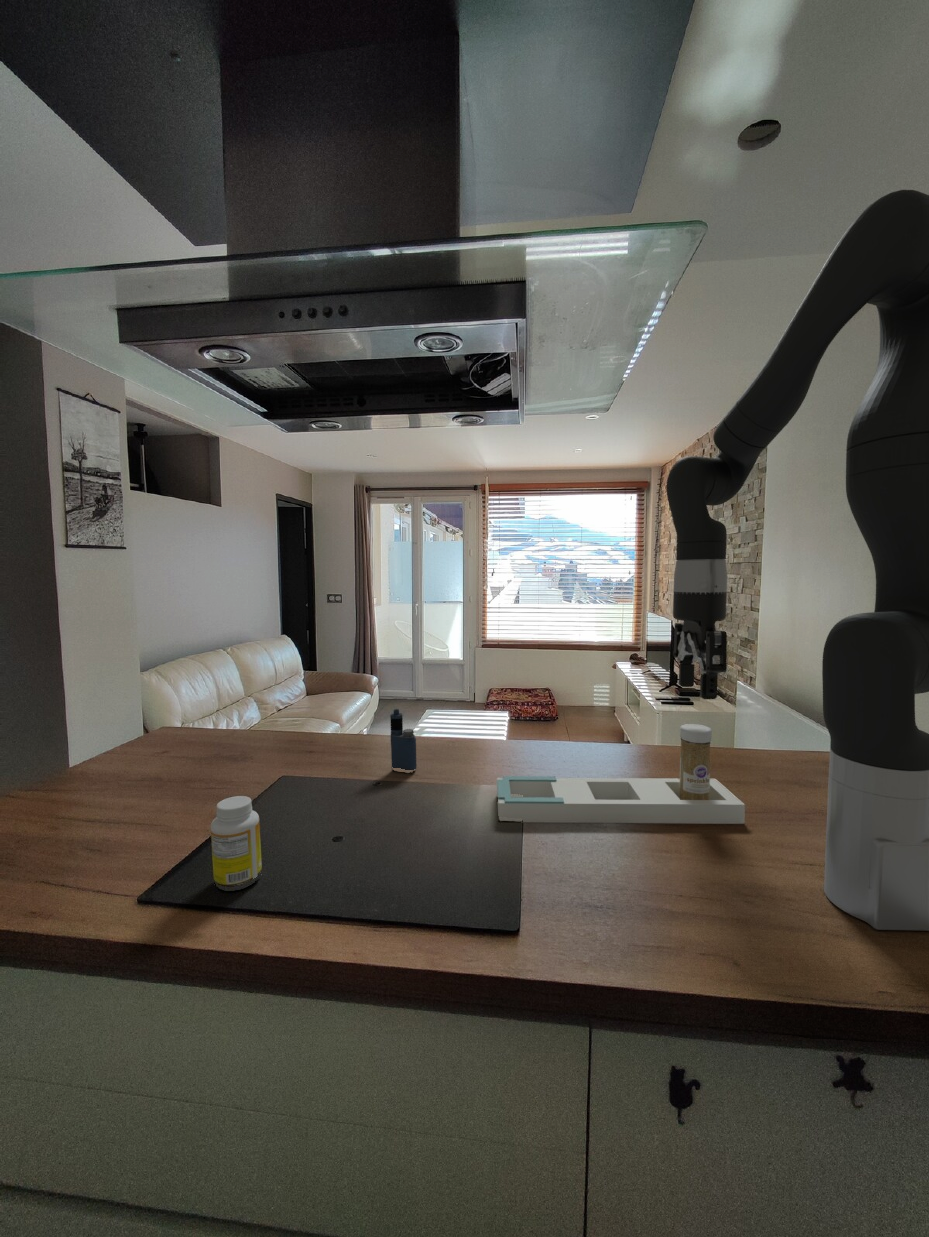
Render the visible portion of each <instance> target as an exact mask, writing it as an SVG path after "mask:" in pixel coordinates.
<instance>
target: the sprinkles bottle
mask: <svg viewBox="0 0 929 1237" xmlns="http://www.w3.org/2000/svg"><path fill="white" fill-rule="evenodd" d="M679 729H680V731H679V737H680V756H679V779H680V784H679V787H680V800H709V788H710V779H711V778H710V777H711V774H710V773H711V770H710V766H711V764H710V763H711V762H710V761H711V760H710V758H711V741H712V740H713V739H712V738H713V737H712V735H713V734H712V731H713V730H712V729H711V728H710V727H708V726H706V725H702V724H697V723H685V724H682V725H681V726H680V727H679Z"/></svg>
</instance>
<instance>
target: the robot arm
mask: <svg viewBox="0 0 929 1237" xmlns="http://www.w3.org/2000/svg"><path fill="white" fill-rule="evenodd" d="M866 304H869V305H872V306H876V309H877V313H878V322H879V354H878V362H877V366H876V371H875V373H874V377H873V378H872V380H871V382H870V385H869V387H868V389H867V390H866V393H865V395H864V396H863V398H862V400H861V402H860V405H859V406H858V408H857V410H856V412H855V414H854V416H853V418H852V421H851V424H850V427H849V430H848V434H847V439H846V449H845V450H846V451H845V452H846V453H845V454H846V455H845V457H846V458H845V493H846V499H847V502H848V505H849V509H850V511H851V514H852V516H853V518H854V520H855V522H856V525H857V527H858V529H859V532H860V533H861V536H862V537H863V539H864V541H865V544H866V545H867V547H868V550H869V553H870V555H871V557H872V561H873V565H874V566H873V568H874V572H875V599H874V600H875V603H874V612H873V611H872V612H862V613H861V612H860V613H855V614H852V615H848V616H846V617H844V618H842V619H840V620H839V621H838V622H836V624H834V625H833V626H832V627H831V629H830V631H829V632H828V635H827V637H826V640H825V642H824V646H823V651H822V662H821V663H822V666H821V668H822V669H821V672H822V673H821V675H822V676H821V677H822V679H821V680H822V681H821V682H822V715H823V720H824V724H825V726H826V728H827V731H828V734H829V738H830V741H829V742H830V746H829V747H830V748H829V765H828V767H829V768H828V783H827V784H828V788H827V806H826V807H827V810H826V833H825V834H826V835H825V851H824V853H825V855H824V879H823V880H824V883H823V884H824V885H823V891H824V894H825V896H826V897H827V900H829V901H830V902H831V903H833V904H834V906H836V907H837V908H839V909H840V910H842V911H843V912H845V913H847V914H848V915H850V916H852V917H854V918H857V919H858V920H862V921H863V922H866V923H867V924H869V926H871V927H872V929H874V930H879V931H928V932H929V733H928V732H926V731H924V730H922V729H919V727H918V726H917V723H916V722H917V721H916V695H919V694H925V693H928V692H929V194H927V193H925V192H921V191H918V190H916V189H900V190H895V191H893V192H890V193H887V194H886V195H883V196H881V197H880V198H878V199H877V200H875V201H874V202H872V203H871V204H870V205H869V206H867V207H866V208H865V209H864V210H862V212H861V213H860V214H859V215H858V216H857V217H856V218H855V219H854V220H853V222H852V223H851V224H850V226H848V228H847V230H846V231H845V232H844V234H843V235H842V236H841V238H840V240H839V241H838V242H837V244H836V245H835V247H834V248H833V250H832V252H831V253H830V255H829V256H828V258H827V260H826V261H825V263H824V264H823V267H822V268H821V270H820V272H819V274H818V275H817V277H816V278H815V280H814V281H813V283H812V285H811V287H810V288H809V290H808V291H807V294H806V296H804V298H803V300H802V302H801V303H800V305H799V307H798V308H797V309H796V312H795V314H794V315H793V317H792V319H791V320H790V322H789V324H788V325H787V327H786V329H785V331H784V332H783V334H782V336H781V337H780V339H779V341H778V342H777V344H776V346H775V347H774V349H773V350H772V352H771V354H770V355H769V357H768V359H767V360H766V361H765V363H764V364H763V366H762V367H761V369H760V371H759V372H758V373H757V374H756V376H755V377H754V378H753V380H752V381H751V382H750V384H749V386H748V387H747V388H746V389H745V390H744V392H743V393H742V394H741V395H740V396H739V398H738V399H737V400H736V401H735V403H734V404H733V406H731V408H730V409H729V410H728V412H727V413H726V415H725V416H724V417H723V418H722V420H721V421H720V422H719V424H718V425H717V427H716V428H715V430H714V433H713V442H714V445H715V446H716V448H717V449H718V450H719V451H720V452H719V453H718V454H717V456H715V457H704V456H698V455H697V456H695V455H694V456H693V455H688V456H684V457H681V458H680V459H678V460H677V461H676V462H675V463H674V464H673V465H672V467H671V469H670V471H669V472H668V476H667V479H666V489H665V490H666V496H667V497H666V498H667V501H668V506H669V510H670V514H671V517H672V521H673V526H674V528H675V529H674V530H675V532H676V546H675V547H676V548H675V550H676V553H675V554H676V555H675V560H676V561H675V567H674V573H673V597H672V598H673V603H672V604H673V605H672V607H673V608H672V617H673V619H675V620H677V621H683V622H675V623H674V634H673V636H674V638H673V652H672V655H673V658H674V659H676V661H677V663H678V664H679V665H678V667H679V668H678V685H679V686H680V687H683V688H687V687H688V688H692V687H694V685H695V664H694V663H695V662H697V664H698V666H699V670H700V679H699V680H700V685H699V686H700V687H699V688H700V689H699V690H700V691H699V696H700V698H701V699H703V700H716V699H717V697H718V675H720V674H721V673H726V672H727V661H728V660H727V658H728V657H727V656H728V655H727V652H728V651H727V647H728V646H727V645H728V644H727V643H728V642H727V641H728V640H727V638H728V637H727V631H726V630H717V629H716V623H717V622H722V621H724V620H725V619H726V617H727V598H728V597H727V595H728V594H727V593H728V592H727V591H728V569H727V561H726V559H727V541H728V539H727V537H728V536H727V527H726V525H725V524H724V523H723V522H721V521H719V520H716V519H714V518H712V516H710V513H709V509H708V506H713V507H715V506H720V505H723V504H725V503H727V502H728V501H730V500H731V499H732V498H734V497H736V495H737V494H738V493H739V491H740V490H741V489H742V488H743V486H744V485H745V483H746V481H747V479H748V477H749V476H750V474H751V471H752V470H753V468H754V466H755V465H756V463H757V461H758V458H759V456H760V454H761V453H762V452H764V450H765V449H766V448H767V447H768V446H769V444H770V443H772V441H773V440H774V439H775V438H776V437H777V436H778V435H779V434H780V433H781V431H783V429H784V428H785V427H786V426H787V425H788V424H789V423H790V422H791V420H792V419H793V418H794V416H795V415H796V414H797V413H798V410H799V409H800V408H801V406H802V404H803V403H804V400H805V399H806V397H807V394H808V391H809V389H810V387H811V384H812V381H813V379H814V377H815V374H816V371H817V369H818V367H819V364H820V362H821V361H822V358H823V357H824V354H825V352H827V349H828V347H829V346H830V344H831V343H832V342H833V340H834V339H835V338H836V336H837V335H838V334H839V333H840V332H841V330H842V329H843V328H844V327H845V326H846V324H848V323H849V322H850V321H851V319H852V318H853V317H854V316H856V314H857V313H859V311H861V309H863V307H865V306H866ZM770 445H771V444H770Z"/></svg>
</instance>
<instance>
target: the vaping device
mask: <svg viewBox="0 0 929 1237" xmlns="http://www.w3.org/2000/svg"><path fill="white" fill-rule="evenodd" d="M389 717H390V748H391V750H390V752H391V753H390V754H391V755H390V756H391V758H390V759H391V768H392V767H393V768H401V769H405V770H414V769H416V770H417V768H418V767H417V738H416V735H415V733H414V729H413V728H412V729H411V728H407V729H406V728H405V729H403V728H404V727H403V726H404V724H403V713H400V710H399V708H395V709H393V713H390V716H389Z"/></svg>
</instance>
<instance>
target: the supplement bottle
mask: <svg viewBox="0 0 929 1237" xmlns="http://www.w3.org/2000/svg"><path fill="white" fill-rule="evenodd" d="M260 825H261V824H260V816H259V814H258V813H257V811H256V810H253V805H252V799H251V797H249V796H245V795H236V796H231V797H230V796H229V797H227V798H224V799H223V800H220V801H219V802H218V803H217V804H216V817H215V818H213V820H212V821H211V823H210V838H211V839H210V840H211V857H212V869H213V870H212V872H213V875H212V876H213V882H214V881H215V882H216V883H217V884H218V885H221V886H224V887H225V886H226V887H234V886H239V885H242V884H244V883H247V882H249V881H251V880H253V879H254V878H256V877H257V876H258V875H259V874H260V873H261V870H262V871H263V869H262V868H263V867H262V866H263V864H262V862H263V861H262V847H261V846H262V845H261V826H260Z"/></svg>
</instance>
